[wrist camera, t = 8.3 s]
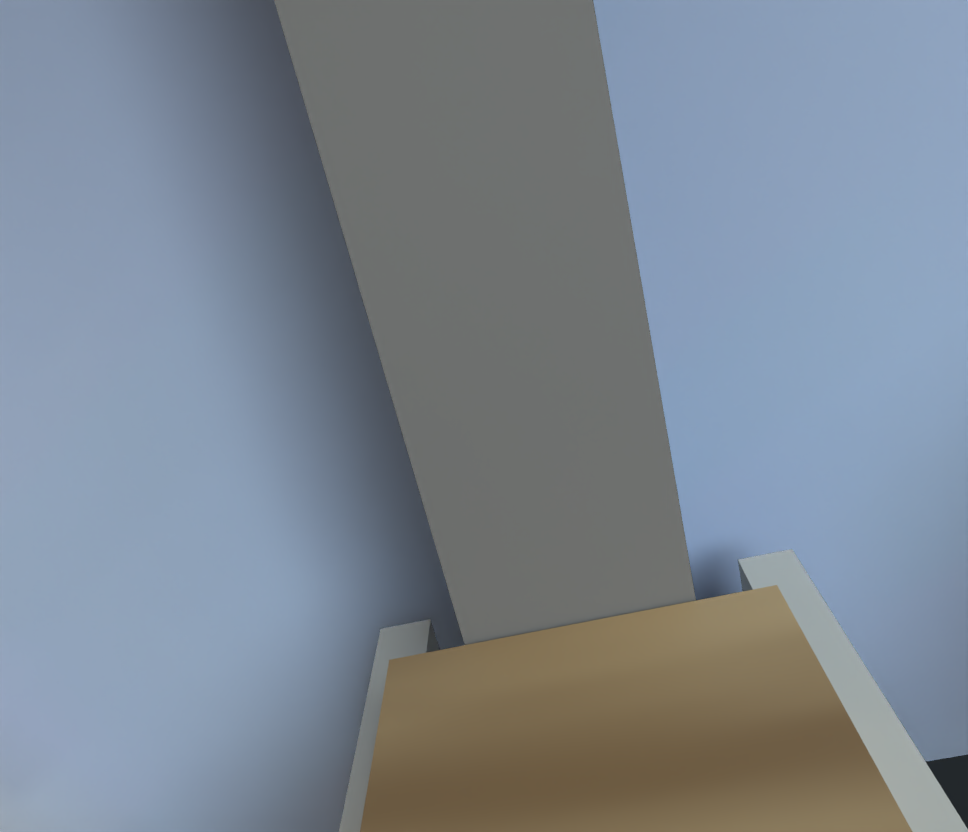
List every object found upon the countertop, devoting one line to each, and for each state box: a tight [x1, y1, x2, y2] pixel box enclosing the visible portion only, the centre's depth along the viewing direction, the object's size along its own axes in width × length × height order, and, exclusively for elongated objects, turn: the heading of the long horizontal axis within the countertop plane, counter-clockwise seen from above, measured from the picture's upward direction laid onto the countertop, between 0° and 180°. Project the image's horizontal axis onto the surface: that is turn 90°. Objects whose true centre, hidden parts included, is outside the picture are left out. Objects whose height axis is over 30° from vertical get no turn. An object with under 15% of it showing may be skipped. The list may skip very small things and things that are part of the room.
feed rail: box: [274, 0, 696, 645], centre depth 9 cm, size 15×2×4 cm, turn 13°
